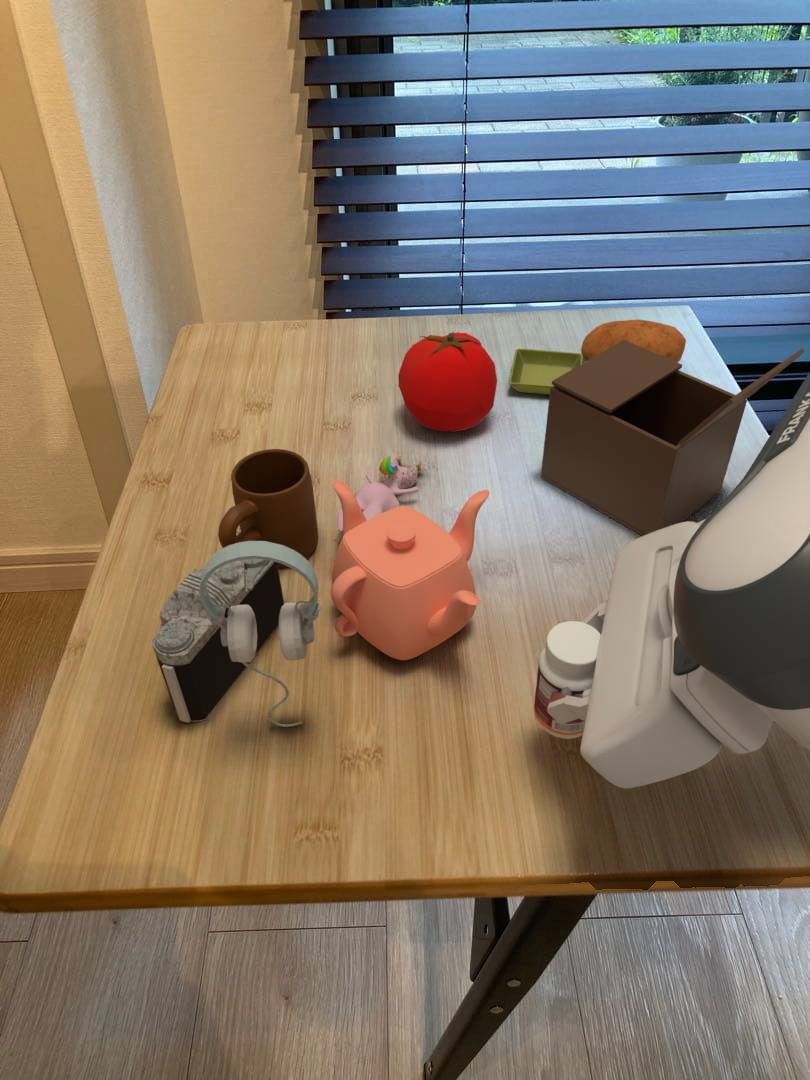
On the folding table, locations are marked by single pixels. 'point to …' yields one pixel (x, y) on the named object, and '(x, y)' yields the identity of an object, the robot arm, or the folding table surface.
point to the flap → (741, 396)
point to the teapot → (403, 576)
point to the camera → (212, 633)
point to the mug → (272, 502)
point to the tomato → (448, 382)
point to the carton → (637, 437)
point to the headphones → (241, 618)
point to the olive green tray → (540, 369)
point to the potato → (635, 338)
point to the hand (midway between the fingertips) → (561, 676)
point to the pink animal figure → (384, 489)
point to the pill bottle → (565, 672)
